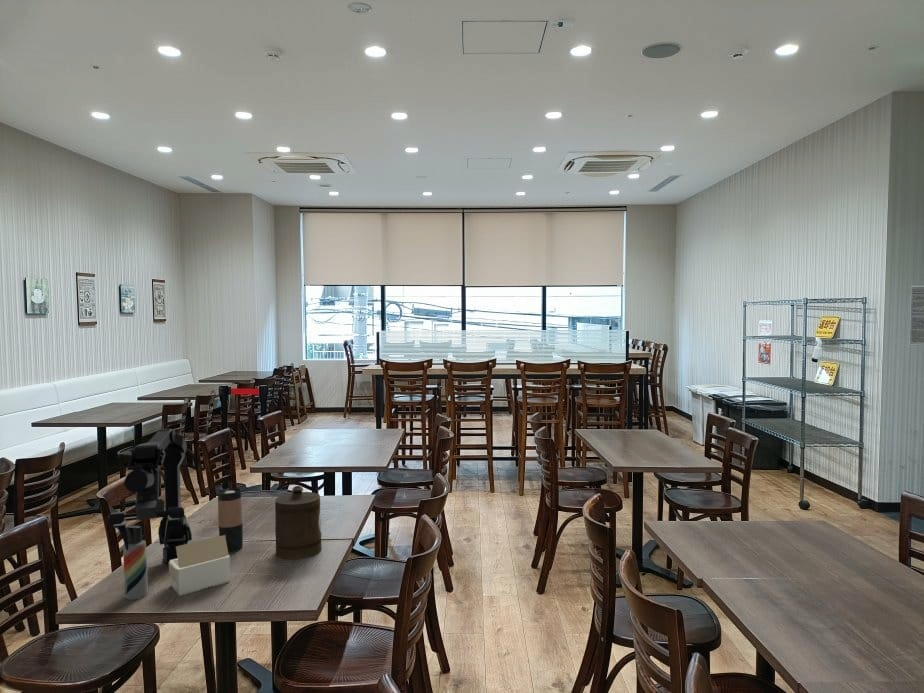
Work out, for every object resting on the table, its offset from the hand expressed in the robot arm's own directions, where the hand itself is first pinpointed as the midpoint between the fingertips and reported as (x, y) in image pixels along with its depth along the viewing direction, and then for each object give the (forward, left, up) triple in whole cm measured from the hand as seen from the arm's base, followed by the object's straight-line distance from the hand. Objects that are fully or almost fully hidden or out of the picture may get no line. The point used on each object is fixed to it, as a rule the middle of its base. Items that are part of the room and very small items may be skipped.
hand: (146, 547), depth 167 cm
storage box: (-14, +1, -15) cm, 21 cm away
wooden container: (-48, +4, -15) cm, 50 cm away
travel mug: (-36, -17, -15) cm, 42 cm away
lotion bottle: (0, -6, -15) cm, 17 cm away
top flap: (-14, +4, -5) cm, 15 cm away
